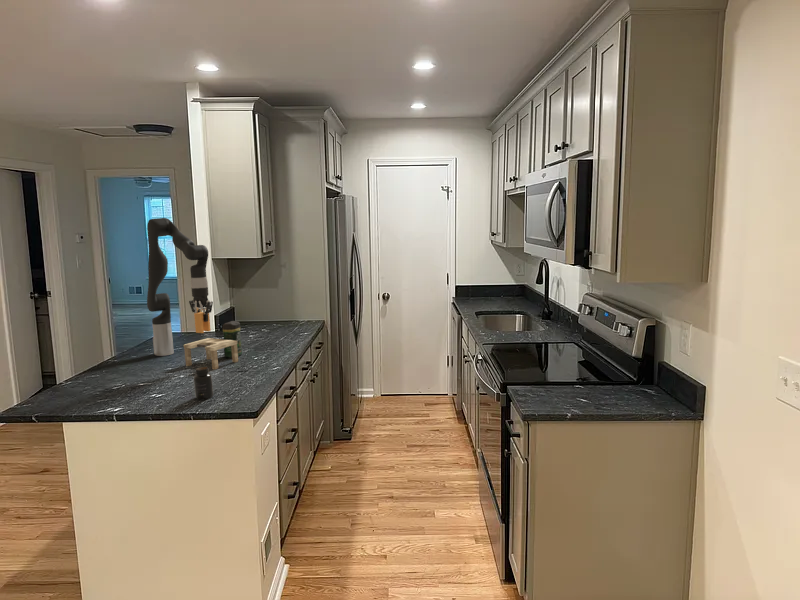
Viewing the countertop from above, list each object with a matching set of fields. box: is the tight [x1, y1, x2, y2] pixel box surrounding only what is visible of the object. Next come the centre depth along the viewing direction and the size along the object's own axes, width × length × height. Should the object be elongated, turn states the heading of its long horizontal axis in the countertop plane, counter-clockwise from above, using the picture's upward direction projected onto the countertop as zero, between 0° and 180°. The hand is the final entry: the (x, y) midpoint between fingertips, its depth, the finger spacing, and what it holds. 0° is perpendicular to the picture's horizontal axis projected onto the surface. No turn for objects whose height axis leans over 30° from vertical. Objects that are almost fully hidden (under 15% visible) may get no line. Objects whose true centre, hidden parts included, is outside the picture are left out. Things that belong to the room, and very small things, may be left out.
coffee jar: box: [222, 320, 243, 359], centre depth 282 cm, size 10×8×19 cm
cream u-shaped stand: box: [183, 337, 239, 370], centre depth 268 cm, size 20×16×11 cm
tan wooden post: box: [193, 311, 211, 334], centre depth 262 cm, size 4×6×10 cm
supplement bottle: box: [193, 366, 214, 400], centre depth 215 cm, size 7×7×12 cm
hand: (202, 321), depth 262 cm, fingers closed on tan wooden post, 4 cm apart
